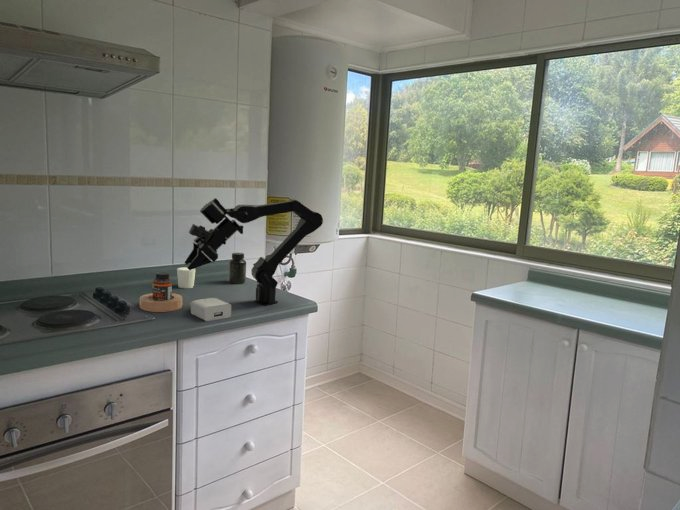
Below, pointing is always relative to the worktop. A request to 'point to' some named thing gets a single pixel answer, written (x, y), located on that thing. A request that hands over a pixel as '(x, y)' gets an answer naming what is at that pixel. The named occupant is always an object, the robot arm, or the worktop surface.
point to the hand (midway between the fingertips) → (186, 266)
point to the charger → (210, 309)
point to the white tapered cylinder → (185, 277)
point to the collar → (160, 303)
